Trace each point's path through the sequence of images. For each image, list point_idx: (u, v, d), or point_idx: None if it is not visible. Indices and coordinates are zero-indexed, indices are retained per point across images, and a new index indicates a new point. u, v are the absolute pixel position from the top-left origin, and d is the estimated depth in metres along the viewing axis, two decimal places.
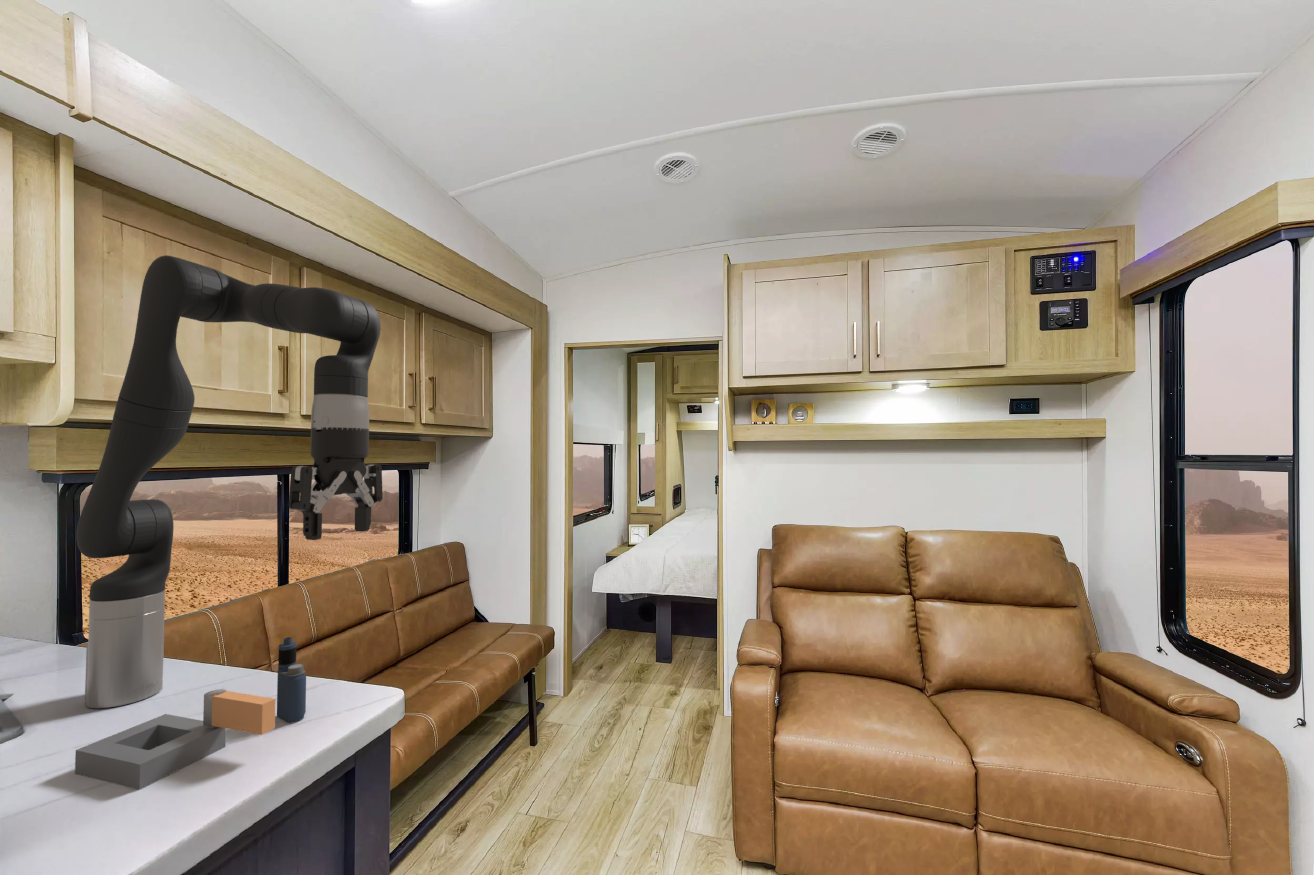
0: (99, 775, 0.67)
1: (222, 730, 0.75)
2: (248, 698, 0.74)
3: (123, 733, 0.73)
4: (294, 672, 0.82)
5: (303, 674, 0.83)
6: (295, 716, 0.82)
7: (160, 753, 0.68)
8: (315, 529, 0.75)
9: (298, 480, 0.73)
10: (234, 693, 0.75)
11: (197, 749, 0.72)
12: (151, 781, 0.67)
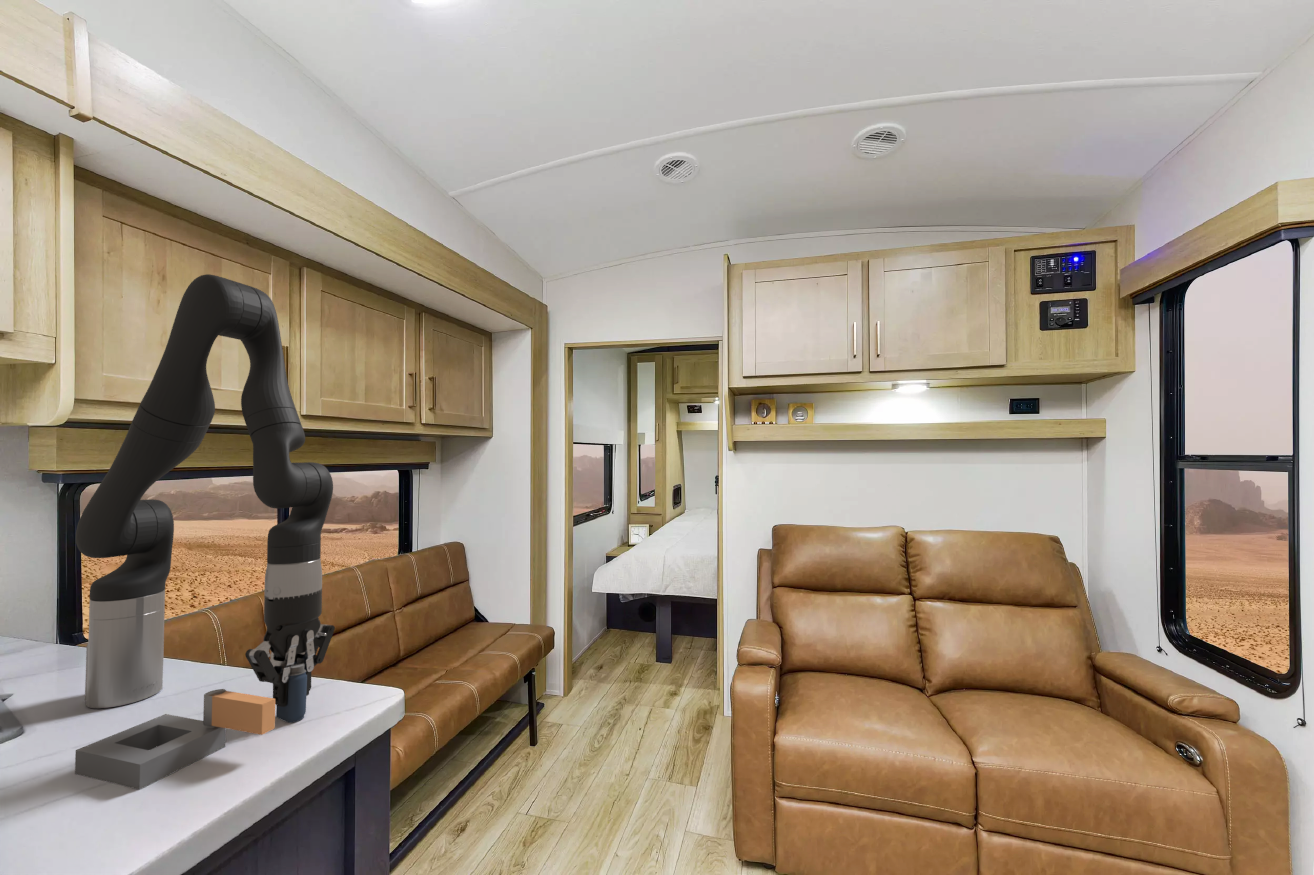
0: (99, 775, 0.67)
1: (222, 730, 0.75)
2: (248, 698, 0.74)
3: (123, 733, 0.73)
4: (295, 671, 0.82)
5: (304, 673, 0.83)
6: (296, 716, 0.82)
7: (160, 753, 0.68)
8: (284, 697, 0.81)
9: (256, 663, 0.78)
10: (234, 693, 0.75)
11: (197, 749, 0.72)
12: (151, 781, 0.67)
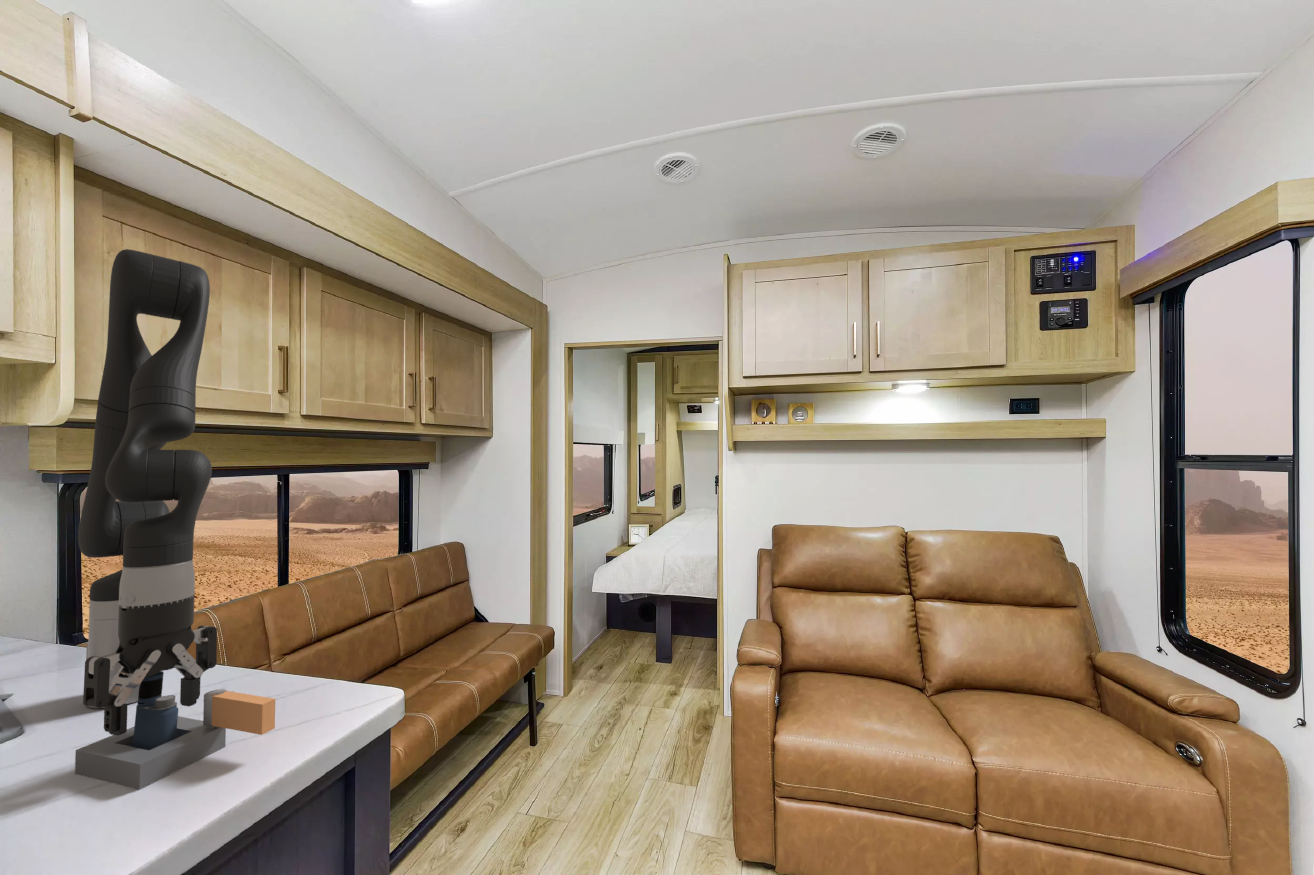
0: (99, 775, 0.67)
1: (222, 730, 0.75)
2: (248, 698, 0.74)
3: (123, 733, 0.73)
4: (165, 704, 0.71)
5: (176, 706, 0.72)
6: None
7: (160, 753, 0.68)
8: (118, 724, 0.68)
9: (92, 674, 0.66)
10: (234, 693, 0.75)
11: (197, 749, 0.72)
12: (151, 781, 0.67)
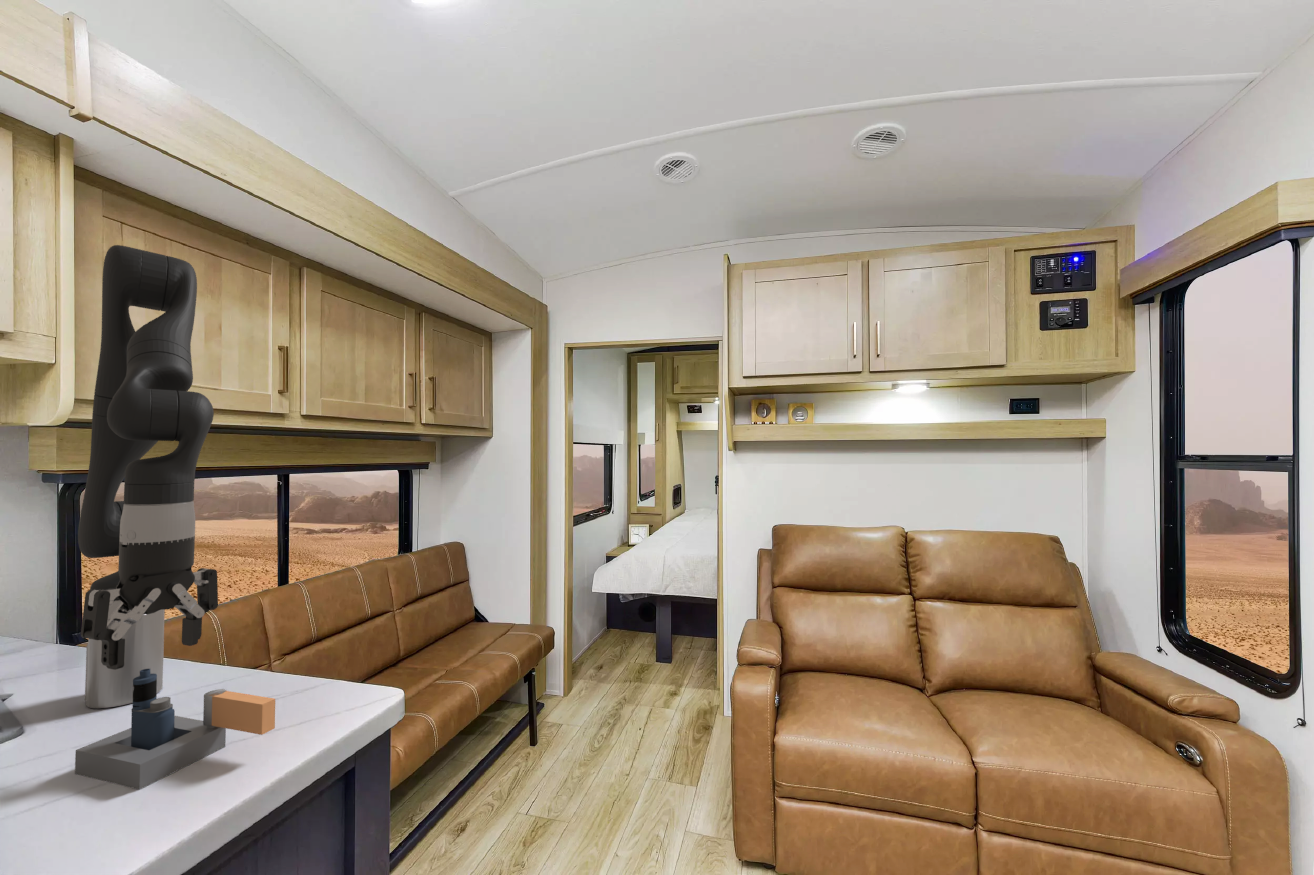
0: (99, 775, 0.67)
1: (222, 730, 0.75)
2: (248, 698, 0.74)
3: (123, 733, 0.73)
4: (161, 707, 0.71)
5: (171, 708, 0.72)
6: None
7: (160, 753, 0.68)
8: (115, 658, 0.68)
9: (92, 607, 0.66)
10: (234, 693, 0.75)
11: (197, 749, 0.72)
12: (151, 781, 0.67)
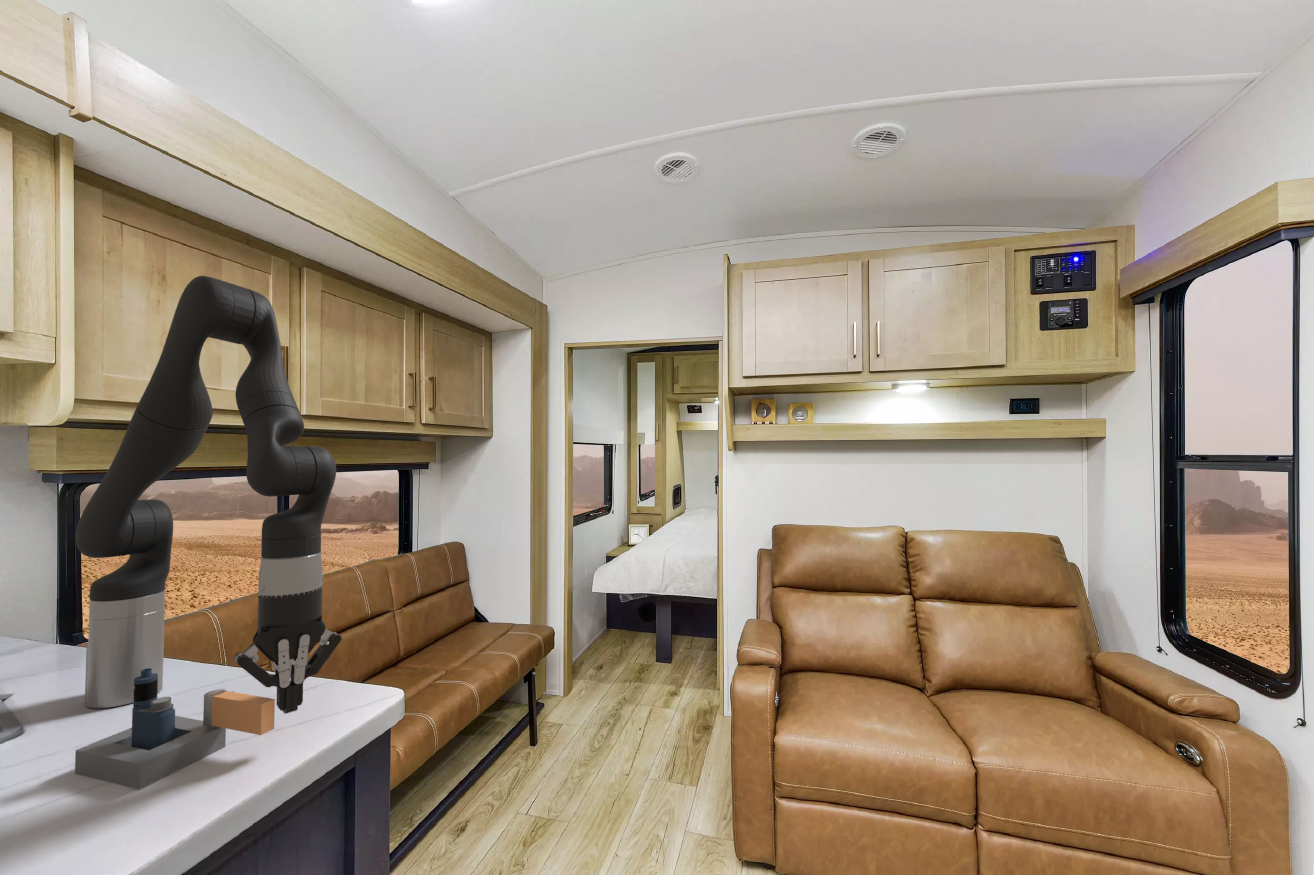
0: (99, 775, 0.67)
1: (222, 730, 0.75)
2: (247, 698, 0.73)
3: (123, 733, 0.73)
4: (161, 707, 0.71)
5: (172, 708, 0.72)
6: None
7: (160, 753, 0.68)
8: (284, 703, 0.74)
9: None
10: (234, 693, 0.75)
11: (197, 749, 0.72)
12: (151, 781, 0.67)
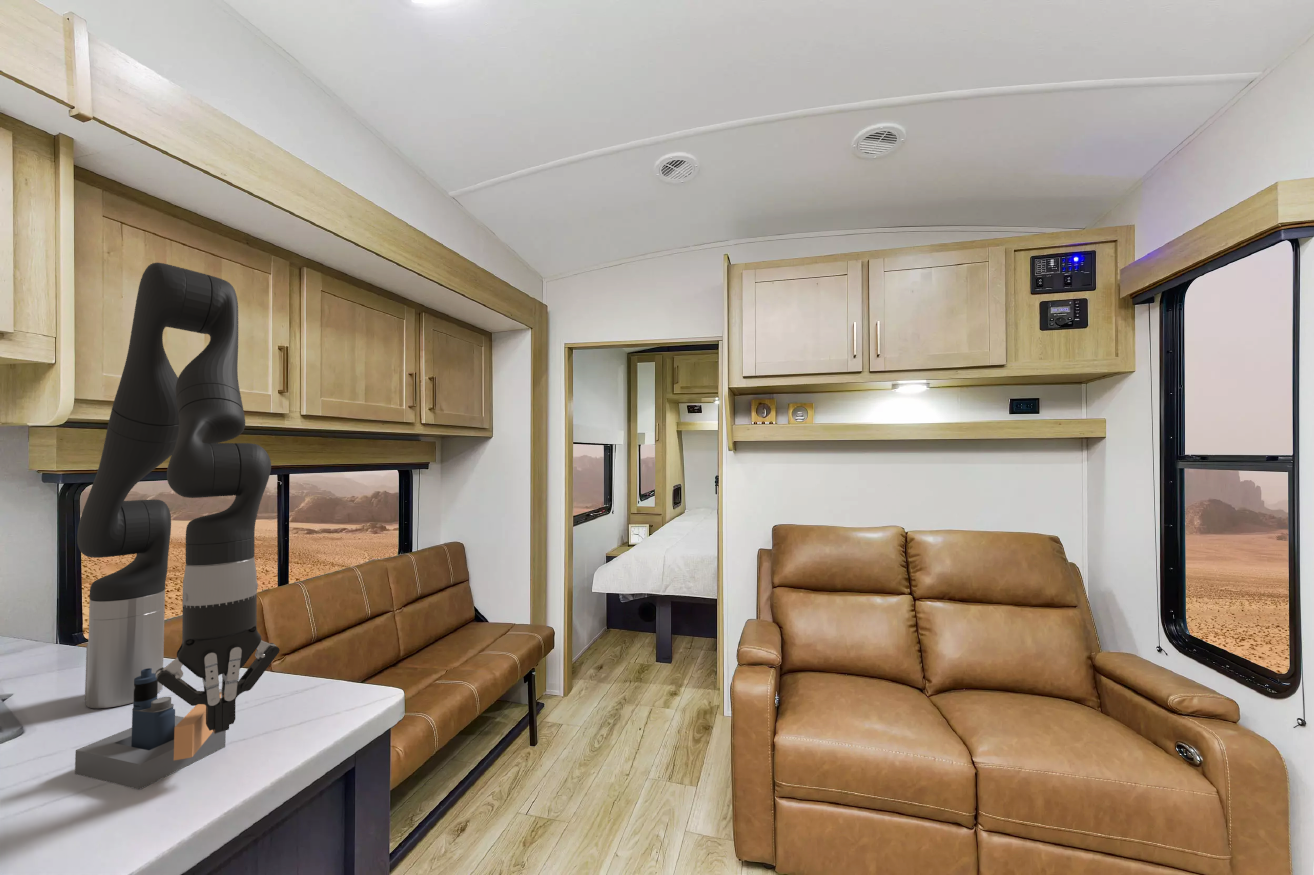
0: (99, 775, 0.67)
1: None
2: (197, 712, 0.70)
3: (123, 733, 0.73)
4: (161, 707, 0.71)
5: (172, 708, 0.72)
6: None
7: (160, 753, 0.68)
8: (214, 722, 0.68)
9: None
10: None
11: None
12: (151, 781, 0.67)
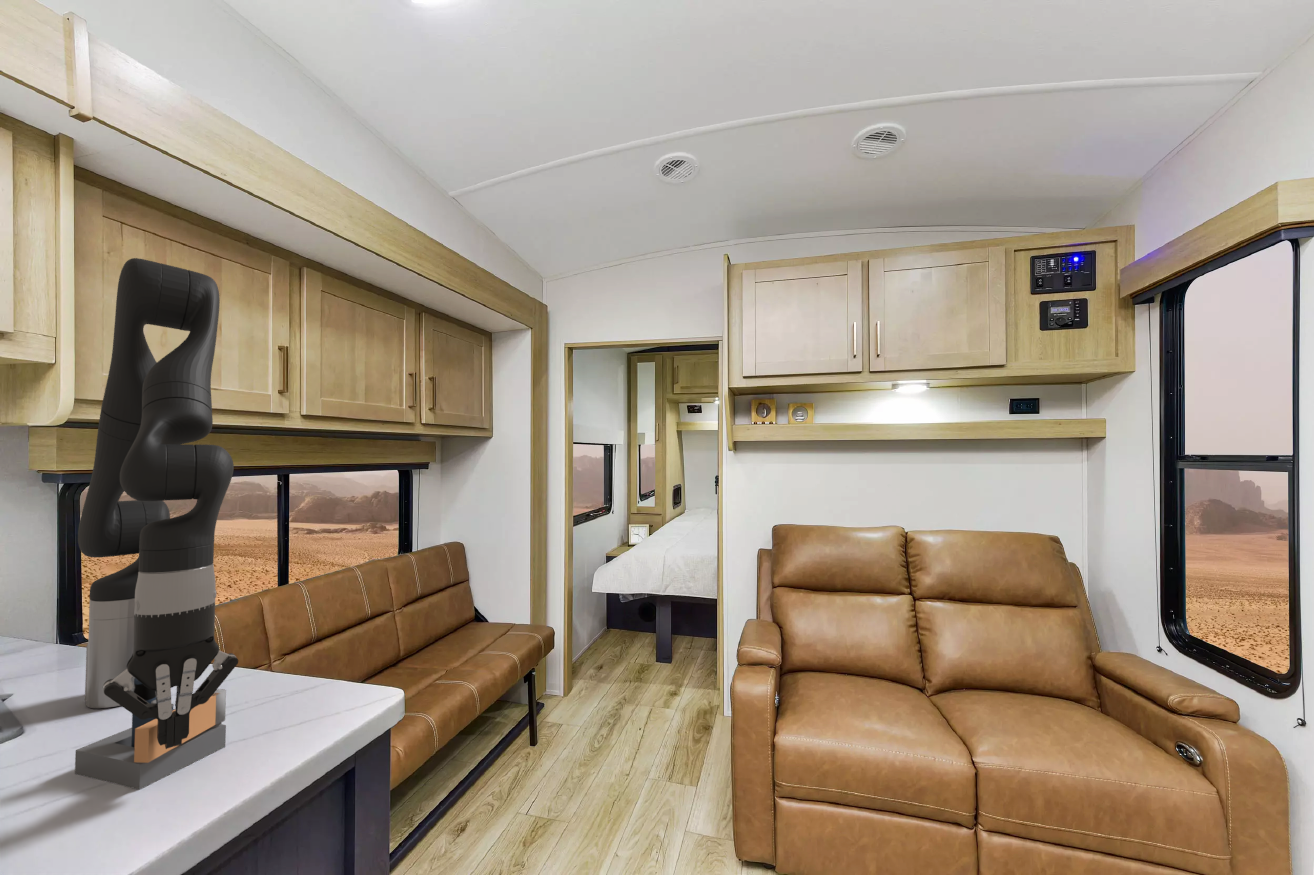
0: (99, 775, 0.67)
1: (222, 730, 0.75)
2: None
3: (123, 733, 0.73)
4: None
5: (172, 708, 0.72)
6: None
7: None
8: (165, 737, 0.65)
9: None
10: None
11: (197, 749, 0.72)
12: (151, 781, 0.67)
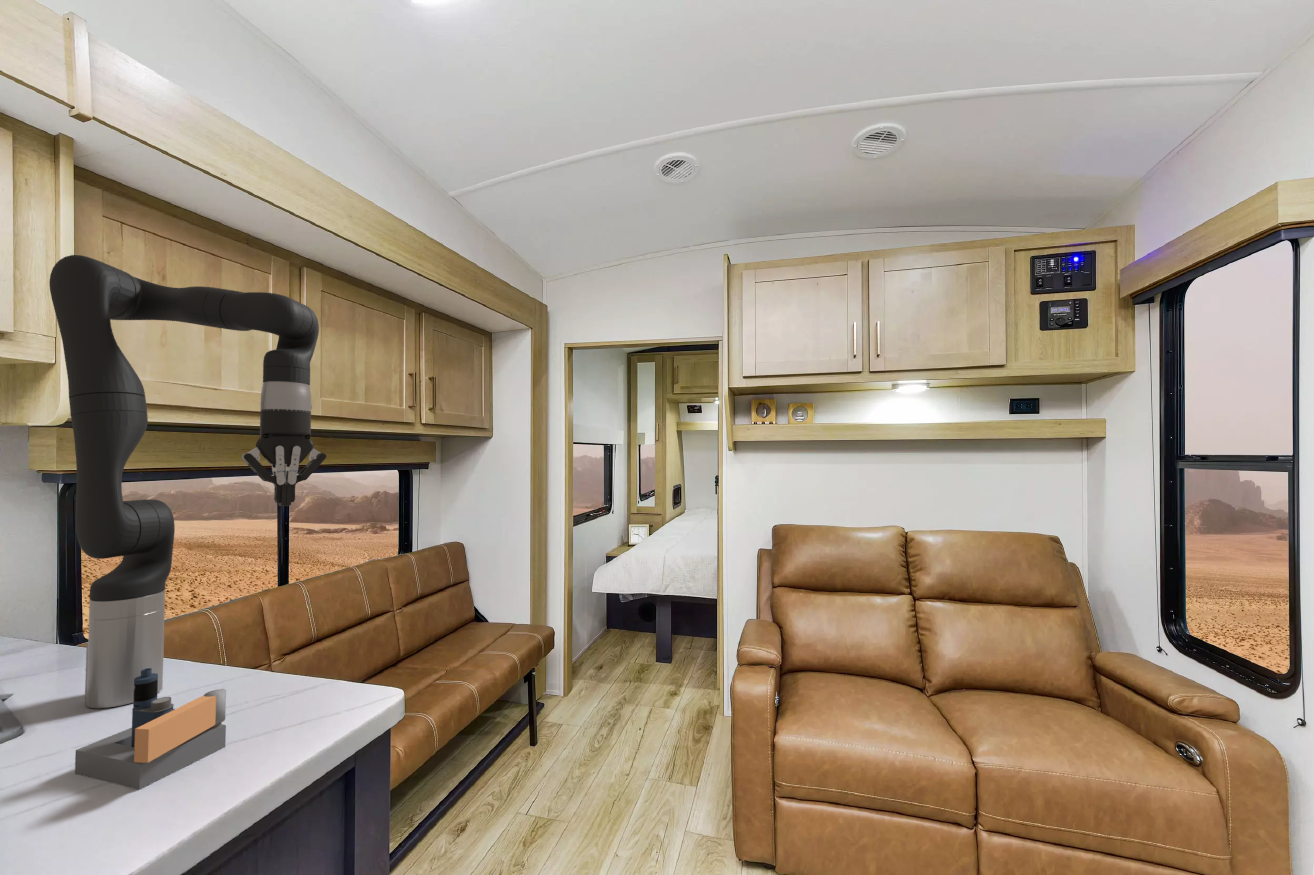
0: (99, 775, 0.67)
1: (222, 730, 0.75)
2: (172, 714, 0.69)
3: (123, 733, 0.73)
4: (161, 707, 0.71)
5: (172, 708, 0.72)
6: None
7: None
8: (280, 497, 0.94)
9: None
10: (202, 701, 0.72)
11: (197, 749, 0.72)
12: (151, 781, 0.67)
